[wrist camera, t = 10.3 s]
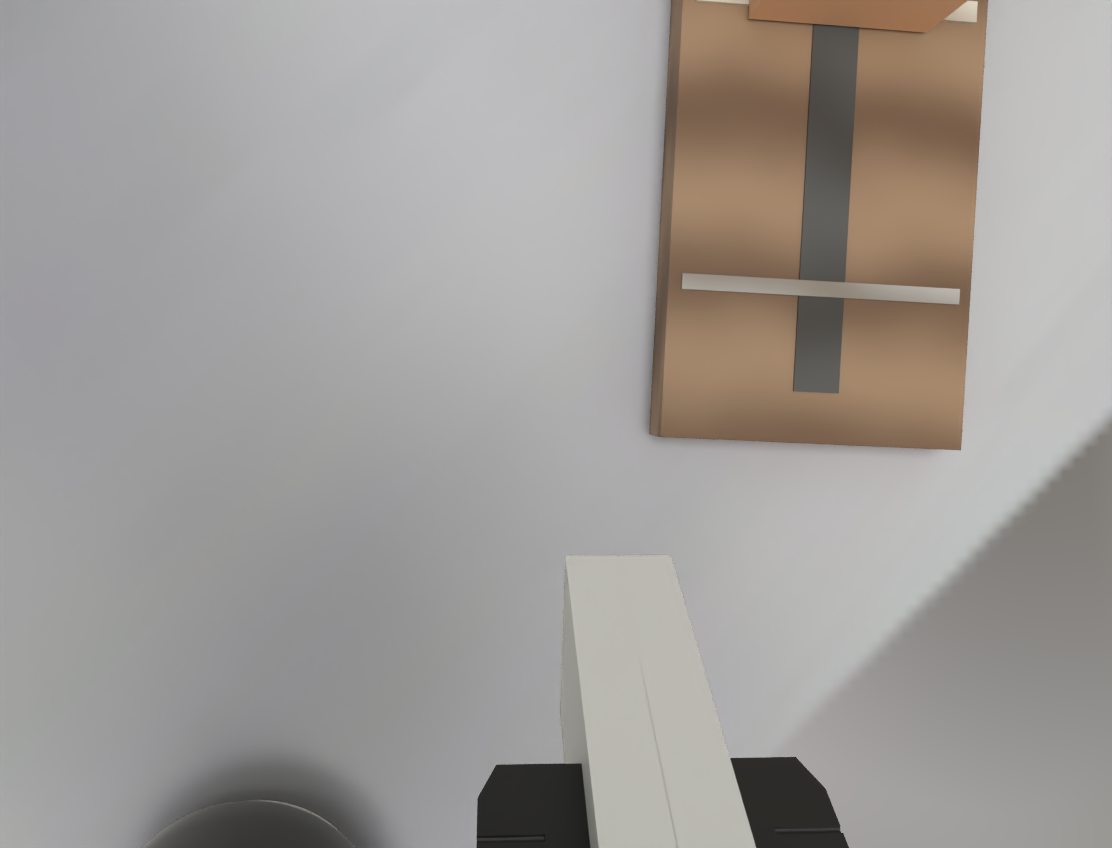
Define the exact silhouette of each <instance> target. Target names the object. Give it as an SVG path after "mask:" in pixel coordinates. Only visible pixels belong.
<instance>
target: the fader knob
mask: <svg viewBox="0 0 1112 848" xmlns="http://www.w3.org/2000/svg"><path fill="white" fill-rule="evenodd" d="M967 1H968V0H750V2H749V19H759V20H772V21H785V22H798V23H810V24H823V25H836V26H849V27H861V28H874V29H887V30H900V31H912V32H925V33H927V32H928V31H930V30H931V29H932V28H934V27H935V26H936V25H937V24H939V23H940V22H941V21H943V20H944V19H945V18H946V17H948V16H949V15H950V14H951V13H953V12H954V11H955V10H957V9H958V8H959V7H960V6H962V5H963V4H964V3H966V2H967Z"/></svg>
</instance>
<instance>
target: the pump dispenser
mask: <svg viewBox="0 0 1112 848" xmlns="http://www.w3.org/2000/svg"><path fill="white" fill-rule="evenodd" d="M142 848H356V847H355V846H354V845H353V844H352V843H351V842H350V841H349V840H348V839H347V838H346V837H345V836H344V835H343V834H342V833H341V832H340V831H339V830H338V829H337V828H336V827H334V826H333V825H332V824H331V823H329V822H328V821H326V820H325V819H323V818H322V817H320V816H319V815H317V814H315V813H313V812H311V811H309V810H306V809H304V808H301V807H299V806H296V805H292V804H289V803H284V802H279V801H271V800H244V801H233V802H226V803H221V804H216V805H212V806H209V807H205V808H202V809H200V810H197V811H194V812H192V813H190V814H188V815H186V816H183V817H182V818H180V819H178V820H176V821H175V822H173V823H171V824H170V825H168V826H167V827H165V828H164V829H162V830H161V831H160V832H158V833H157V834H156V835H155V836H154V837H152V838H151V839H150V840H149V841H148V842H147V843H146V844H145V845H144V846H143V847H142Z"/></svg>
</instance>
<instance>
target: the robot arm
mask: <svg viewBox="0 0 1112 848" xmlns="http://www.w3.org/2000/svg"><path fill="white" fill-rule="evenodd" d="M560 714H561V726H562V738H563V750H564V762H565V764H514V765H496V766H495V768H494V770H493V772H492V774H491V775H490V777H489V779H488V781H487V782H486V784H485V786H484V788H483V789H482V791H481V793H480V795H479V797H478V809H477V848H849V847H848V845H847V842H846V839H845V837H844V834H843V833H841V832H840V824H839V822H838V819H837V817H836V814H835V812H834V809H833V807H832V804H831V801H830V799H829V796H828V794H827V791H826V789H825V788H824V787H823V786H822V785H821V783H820V782H819V781H818V780H817V779H816V778H815V777H814V776H813V775H812V774H811V773H810V772H809V771H808V770H807V769H806V768H805V767H804V766H803V764H802V763H801V762H800V761H799V760H798V759H797V758H796V757H772V758H730V756H729V753H728V749H727V746H726V743H725V739H724V736H723V732H722V729H721V725H720V722H719V718H718V715H717V712H716V708H715V705H714V701H713V698H712V694H711V691H710V688H709V684H708V681H707V677H706V674H705V670H704V667H703V664H702V660H701V657H700V653H699V650H698V646H697V643H696V639H695V636H694V633H693V629H692V626H691V622H690V619H689V615H688V612H687V609H686V605H685V602H684V598H683V595H682V591H681V588H680V585H679V581H678V578H677V574H676V571H675V567H674V564H673V561H672V557H671V555H569V556H565V583H564V612H563V642H562V672H561V702H560Z"/></svg>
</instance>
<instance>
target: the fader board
mask: <svg viewBox="0 0 1112 848" xmlns="http://www.w3.org/2000/svg"><path fill="white" fill-rule="evenodd" d="M749 2H750V0H672V1H671V21H670V41H669V61H668V80H667V100H666V120H665V139H664V159H663V179H662V198H661V218H660V238H659V258H658V277H657V297H656V317H655V336H654V356H653V376H652V395H651V415H650V434H652V435H656V436H660V437H677V438H699V439H722V440H744V441H766V442H789V443H811V444H833V445H856V446H878V447H901V448H923V449H945V450H961V440H962V423H963V406H964V390H965V373H966V357H967V340H968V323H969V307H970V290H971V273H972V257H973V240H974V223H975V207H976V190H977V174H978V157H979V140H980V124H981V107H982V90H983V74H984V57H985V40H986V24H987V7H988V0H968V1H967V2H966V3H964V4H963V5H962V6H960V7H959V8H958V9H957V10H955V11H954V12H953V13H951V14H950V15H949V16H948V17H946V18H945V19H944V20H943V21H941V22H940V23H939V24H937V25H936V26H935V27H934V28H932V29H931V30H930V31H928V32H927V33H925V32H912V31H900V30H887V29H874V28H861V27H849V26H836V25H823V24H810V23H798V22H785V21H772V20H759V19H749Z"/></svg>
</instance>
